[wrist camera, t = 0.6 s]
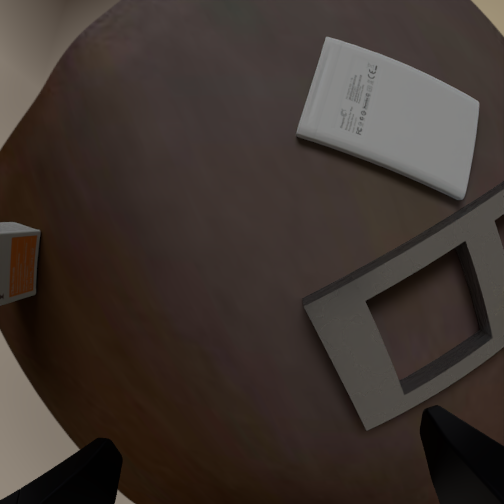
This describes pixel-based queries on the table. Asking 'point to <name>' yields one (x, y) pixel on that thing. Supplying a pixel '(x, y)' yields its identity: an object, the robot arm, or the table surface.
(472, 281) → the grey flat frame
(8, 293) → the skincare box
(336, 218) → the table surface
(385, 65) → the external hard drive
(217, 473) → the table surface
